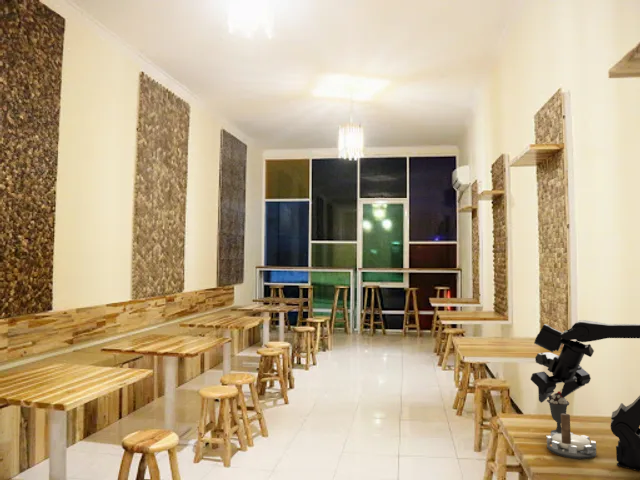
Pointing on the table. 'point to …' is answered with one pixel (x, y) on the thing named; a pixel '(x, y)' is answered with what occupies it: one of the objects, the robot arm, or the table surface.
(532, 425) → the table surface
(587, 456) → the dial plate
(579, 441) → the dial
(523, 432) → the table surface
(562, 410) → the sundae
